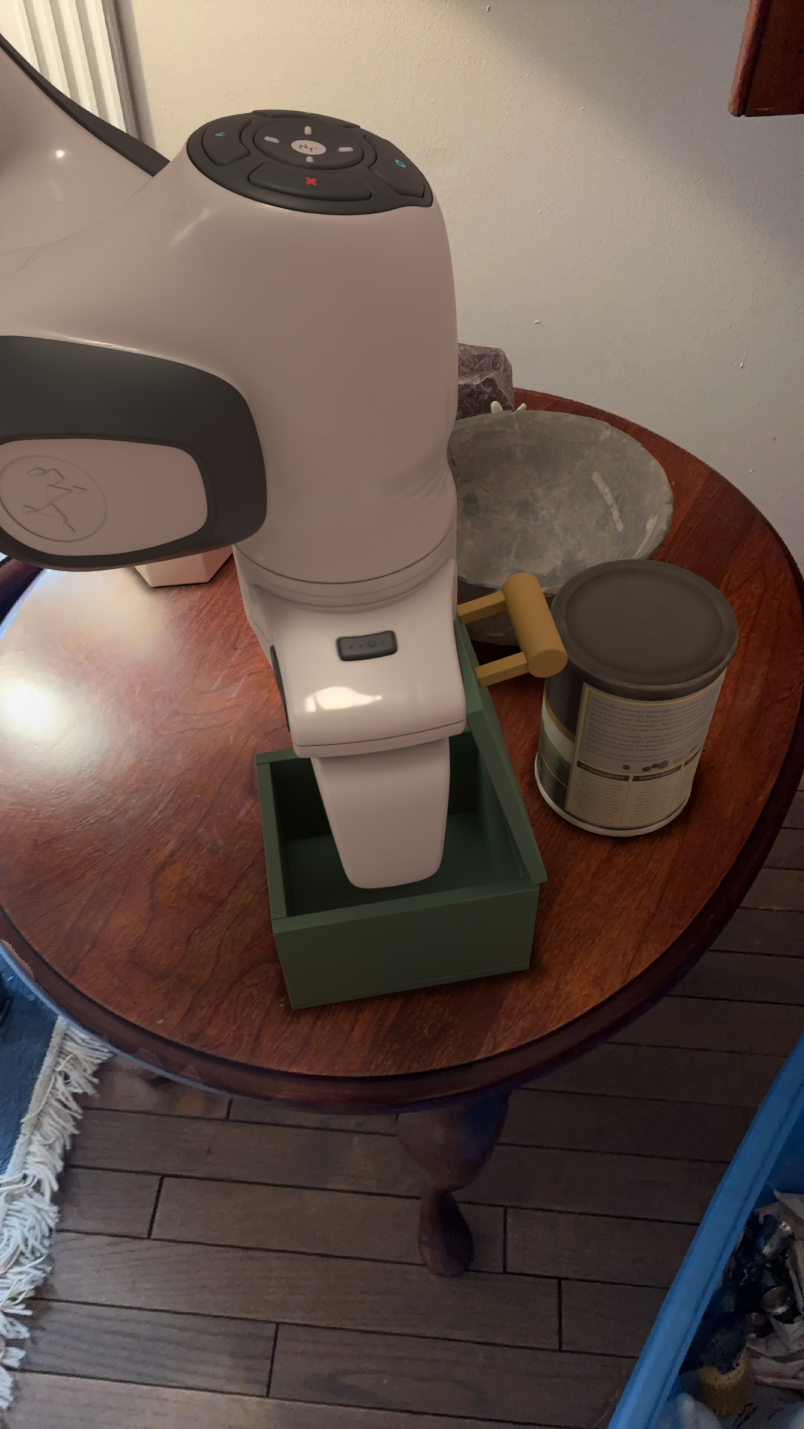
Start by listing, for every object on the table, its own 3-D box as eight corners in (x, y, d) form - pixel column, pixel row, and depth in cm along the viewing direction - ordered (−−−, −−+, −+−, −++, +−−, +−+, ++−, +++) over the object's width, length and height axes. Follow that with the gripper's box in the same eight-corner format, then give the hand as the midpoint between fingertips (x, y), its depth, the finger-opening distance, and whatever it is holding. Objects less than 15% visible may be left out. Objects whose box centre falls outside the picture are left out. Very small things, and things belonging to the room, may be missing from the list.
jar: (111, 545, 85) (71, 417, 76) (199, 506, 88) (171, 379, 79) (161, 605, 80) (125, 476, 71) (253, 562, 83) (229, 433, 74)
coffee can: (501, 775, 68) (511, 621, 57) (599, 691, 73) (626, 534, 62) (627, 868, 63) (664, 719, 52) (724, 772, 68) (776, 616, 57)
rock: (527, 377, 97) (535, 256, 83) (505, 510, 92) (511, 405, 78) (381, 363, 99) (366, 241, 85) (353, 493, 94) (332, 386, 80)
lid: (464, 714, 41) (580, 676, 40) (412, 530, 49) (510, 496, 48) (533, 886, 52) (625, 857, 52) (482, 714, 60) (562, 688, 59)
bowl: (539, 480, 88) (548, 374, 81) (711, 617, 77) (741, 510, 69) (330, 573, 81) (318, 468, 74) (486, 741, 70) (491, 636, 62)
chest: (292, 1011, 58) (272, 933, 51) (273, 840, 65) (254, 753, 59) (529, 969, 59) (540, 888, 52) (484, 806, 67) (488, 717, 60)
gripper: (250, 429, 48) (284, 638, 59) (295, 770, 35) (330, 962, 45) (383, 412, 49) (394, 623, 59) (478, 742, 36) (470, 938, 46)
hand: (366, 773), depth 52 cm, fingers closed on block, 4 cm apart
